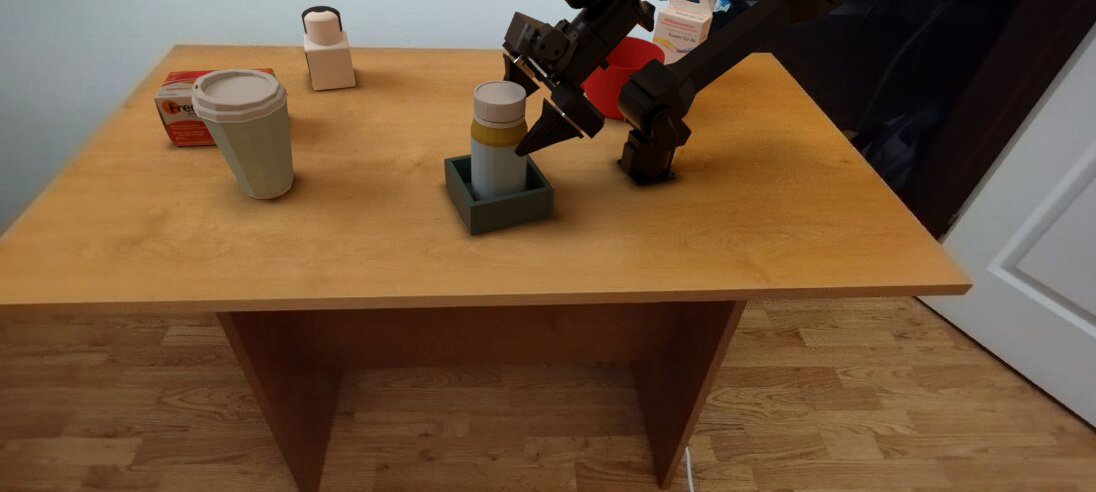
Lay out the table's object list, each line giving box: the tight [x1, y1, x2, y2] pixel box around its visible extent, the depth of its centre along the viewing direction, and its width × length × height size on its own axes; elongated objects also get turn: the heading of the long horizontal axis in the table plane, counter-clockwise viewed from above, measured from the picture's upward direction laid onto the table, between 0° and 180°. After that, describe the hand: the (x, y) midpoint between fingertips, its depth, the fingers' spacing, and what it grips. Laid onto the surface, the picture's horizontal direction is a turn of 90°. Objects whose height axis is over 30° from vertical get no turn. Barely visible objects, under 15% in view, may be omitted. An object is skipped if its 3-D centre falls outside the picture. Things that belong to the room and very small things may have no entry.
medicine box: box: [153, 67, 276, 147], centre depth 85 cm, size 15×8×8 cm, turn 99°
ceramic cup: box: [580, 35, 665, 120], centre depth 94 cm, size 13×17×10 cm
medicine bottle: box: [301, 5, 356, 91], centre depth 97 cm, size 7×7×12 cm
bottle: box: [470, 80, 529, 201], centre depth 72 cm, size 7×7×15 cm
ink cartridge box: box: [651, 0, 717, 65], centre depth 103 cm, size 9×5×15 cm, turn 58°
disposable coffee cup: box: [192, 67, 295, 200], centre depth 73 cm, size 11×11×15 cm
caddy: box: [443, 153, 555, 236], centre depth 76 cm, size 11×11×4 cm
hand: (503, 135), depth 71 cm, fingers open, 9 cm apart
